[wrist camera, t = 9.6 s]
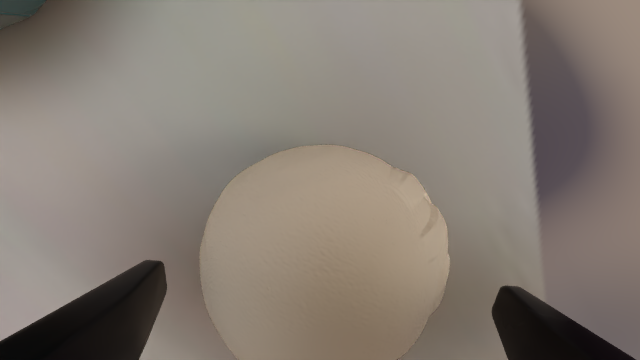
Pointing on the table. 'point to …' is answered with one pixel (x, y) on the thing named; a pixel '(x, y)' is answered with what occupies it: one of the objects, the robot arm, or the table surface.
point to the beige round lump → (323, 258)
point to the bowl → (17, 10)
